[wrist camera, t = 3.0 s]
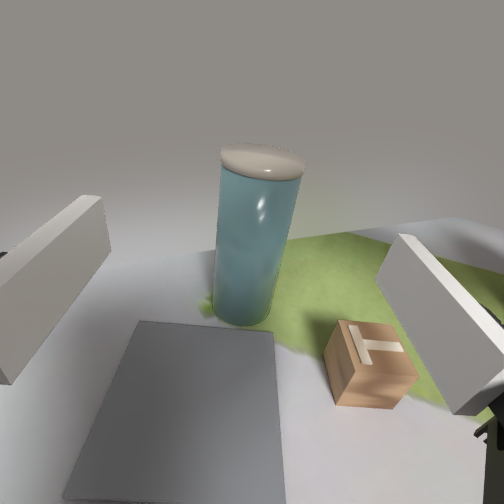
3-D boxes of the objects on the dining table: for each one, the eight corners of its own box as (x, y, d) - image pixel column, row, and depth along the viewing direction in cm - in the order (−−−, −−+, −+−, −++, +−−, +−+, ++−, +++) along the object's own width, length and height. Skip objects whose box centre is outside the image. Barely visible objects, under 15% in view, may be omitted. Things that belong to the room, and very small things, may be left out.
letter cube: (371, 357, 33) (392, 323, 30) (392, 409, 28) (420, 375, 25) (322, 354, 33) (338, 318, 29) (335, 405, 28) (356, 370, 24)
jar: (269, 286, 41) (299, 149, 30) (272, 329, 35) (313, 174, 23) (214, 280, 41) (225, 139, 30) (207, 323, 34) (216, 161, 23)
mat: (272, 335, 34) (273, 332, 34) (284, 508, 21) (286, 506, 20) (139, 323, 33) (139, 320, 32) (63, 499, 20) (61, 496, 19)
